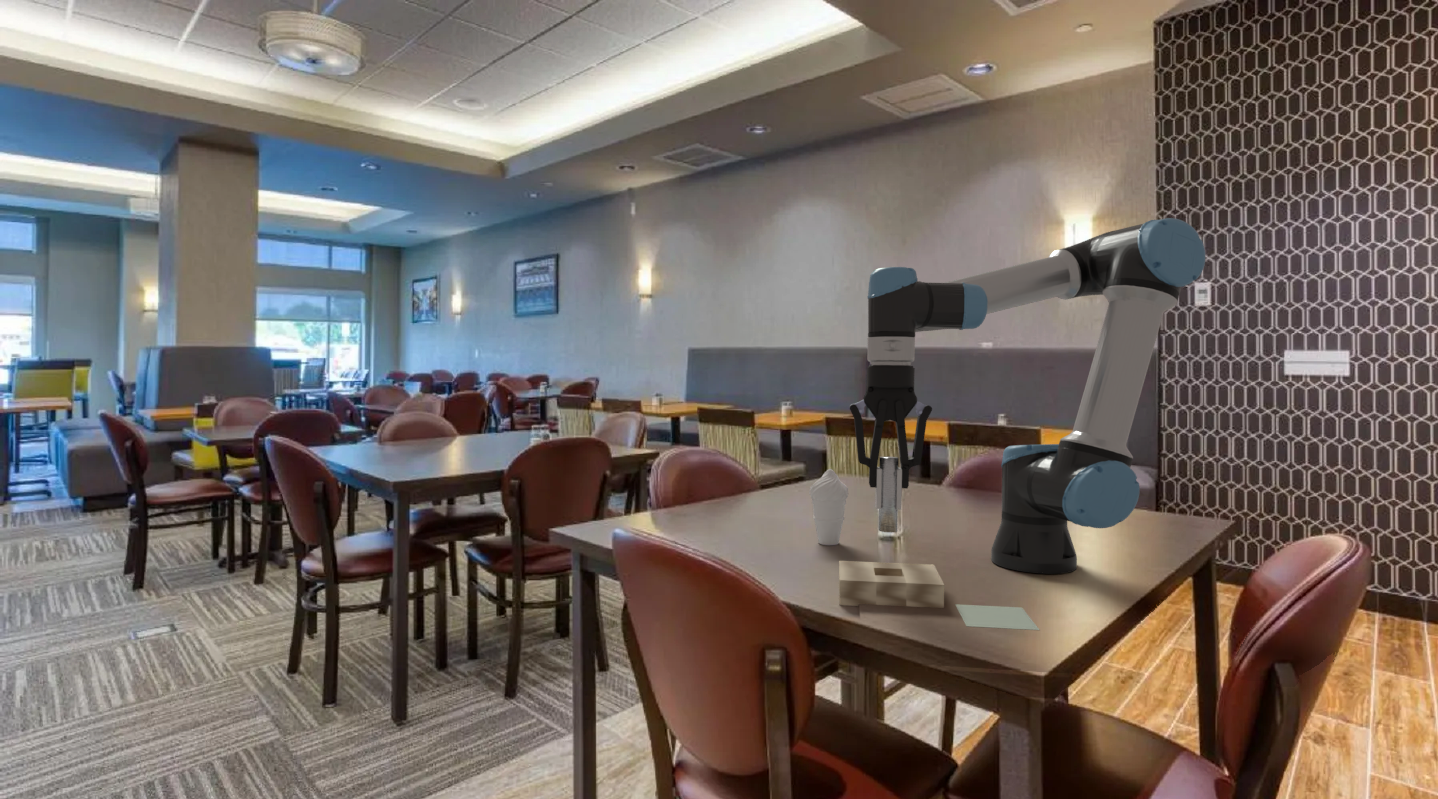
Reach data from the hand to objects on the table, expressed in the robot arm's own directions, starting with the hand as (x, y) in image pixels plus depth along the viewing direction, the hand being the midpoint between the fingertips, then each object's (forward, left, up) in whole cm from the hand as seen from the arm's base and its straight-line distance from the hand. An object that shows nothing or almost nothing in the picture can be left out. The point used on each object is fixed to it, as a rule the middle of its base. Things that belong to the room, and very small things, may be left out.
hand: (888, 507), depth 121 cm
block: (0, 0, -15) cm, 15 cm away
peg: (0, 0, -4) cm, 4 cm away
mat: (-15, +9, -15) cm, 23 cm away
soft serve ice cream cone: (+10, -36, -15) cm, 40 cm away
